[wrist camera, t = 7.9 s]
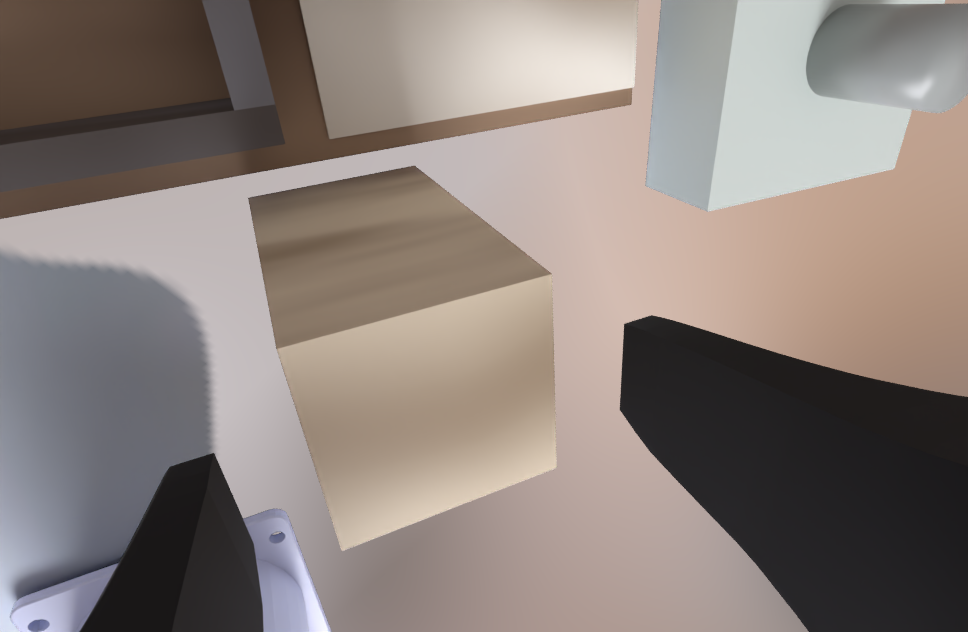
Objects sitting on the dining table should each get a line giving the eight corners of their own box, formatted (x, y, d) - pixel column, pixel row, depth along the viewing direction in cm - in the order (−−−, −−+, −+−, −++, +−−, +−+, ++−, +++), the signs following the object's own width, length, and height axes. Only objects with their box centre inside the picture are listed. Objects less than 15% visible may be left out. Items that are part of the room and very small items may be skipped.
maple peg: (434, 304, 18) (556, 467, 12) (292, 343, 17) (341, 551, 10) (414, 165, 16) (551, 273, 10) (248, 197, 15) (276, 349, 8)
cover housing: (818, 150, 22) (998, 193, 17) (645, 185, 19) (796, 248, 14) (878, -106, 18) (1137, -150, 13) (670, -103, 15) (890, -156, 10)
